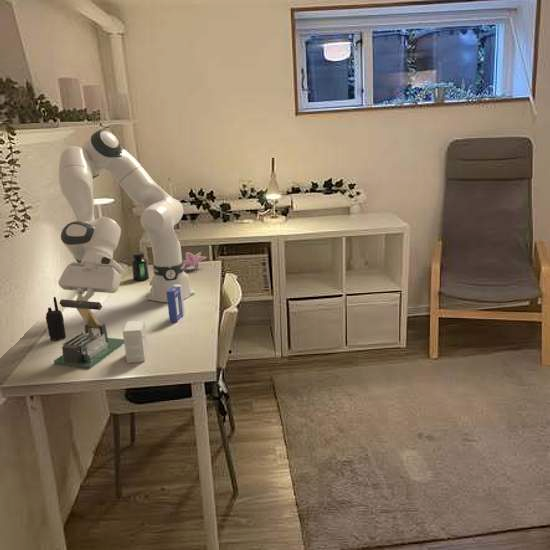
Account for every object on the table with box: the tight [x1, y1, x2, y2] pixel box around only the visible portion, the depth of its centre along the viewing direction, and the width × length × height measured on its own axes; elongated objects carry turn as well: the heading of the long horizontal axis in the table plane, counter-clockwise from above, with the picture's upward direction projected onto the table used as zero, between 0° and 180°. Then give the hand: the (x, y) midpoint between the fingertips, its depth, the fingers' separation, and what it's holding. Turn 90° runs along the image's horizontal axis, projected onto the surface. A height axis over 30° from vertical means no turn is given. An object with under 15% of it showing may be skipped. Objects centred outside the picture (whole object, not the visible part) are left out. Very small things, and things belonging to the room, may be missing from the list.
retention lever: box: [59, 298, 103, 330], centre depth 177 cm, size 1×14×12 cm, turn 71°
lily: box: [182, 251, 207, 273], centre depth 261 cm, size 12×12×10 cm
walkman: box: [167, 285, 186, 323], centre depth 204 cm, size 8×3×12 cm, turn 167°
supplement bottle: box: [130, 251, 150, 282], centre depth 252 cm, size 7×7×12 cm
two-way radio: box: [45, 296, 66, 341], centre depth 189 cm, size 6×4×15 cm
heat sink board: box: [53, 323, 125, 369], centre depth 178 cm, size 19×13×8 cm
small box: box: [122, 320, 149, 364], centre depth 174 cm, size 8×6×10 cm
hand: (81, 302), depth 174 cm, fingers closed, pressing on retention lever
